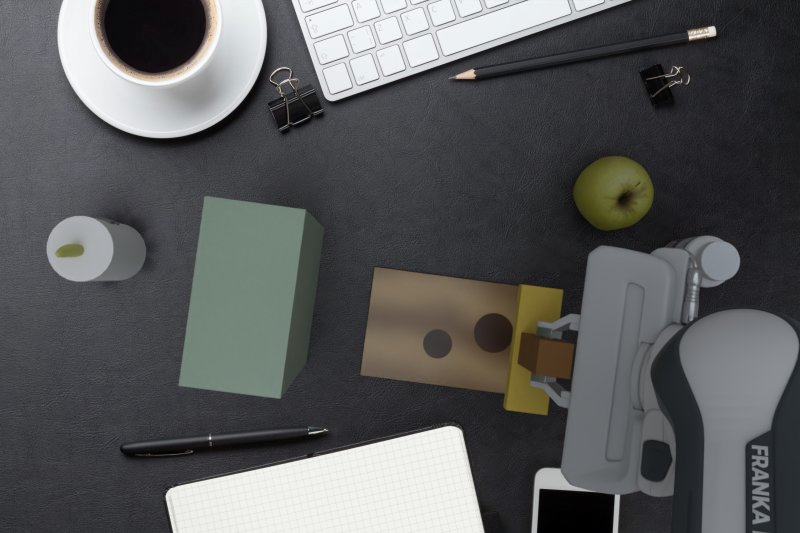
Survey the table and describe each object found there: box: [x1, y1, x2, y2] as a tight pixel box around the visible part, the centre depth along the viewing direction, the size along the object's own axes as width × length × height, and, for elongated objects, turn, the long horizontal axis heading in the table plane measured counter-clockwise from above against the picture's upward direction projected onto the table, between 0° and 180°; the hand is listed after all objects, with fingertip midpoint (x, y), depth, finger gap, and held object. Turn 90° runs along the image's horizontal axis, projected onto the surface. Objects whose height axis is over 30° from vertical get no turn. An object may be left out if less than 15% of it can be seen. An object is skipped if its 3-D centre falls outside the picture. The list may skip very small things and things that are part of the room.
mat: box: [359, 266, 519, 395], centre depth 84 cm, size 12×20×1 cm, turn 82°
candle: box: [46, 215, 147, 283], centre depth 75 cm, size 6×6×15 cm
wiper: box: [502, 283, 575, 416], centre depth 69 cm, size 12×4×10 cm, turn 172°
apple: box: [572, 155, 655, 231], centre depth 80 cm, size 8×8×10 cm
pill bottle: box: [664, 235, 741, 288], centre depth 80 cm, size 5×5×10 cm
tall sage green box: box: [178, 195, 326, 400], centre depth 71 cm, size 15×8×24 cm, turn 172°
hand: (536, 353), depth 68 cm, fingers closed on wiper, 3 cm apart
